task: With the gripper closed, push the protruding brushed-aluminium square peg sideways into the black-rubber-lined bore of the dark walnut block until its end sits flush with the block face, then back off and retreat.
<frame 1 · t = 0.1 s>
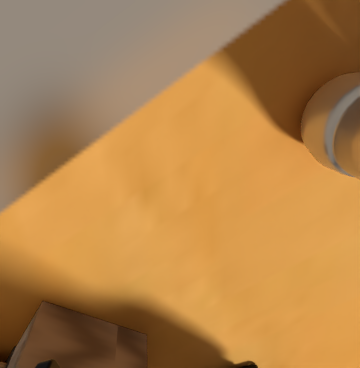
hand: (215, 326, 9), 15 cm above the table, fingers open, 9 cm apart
socket block: (65, 367, 30), on the table
plastic bottle: (332, 114, 22), on the table
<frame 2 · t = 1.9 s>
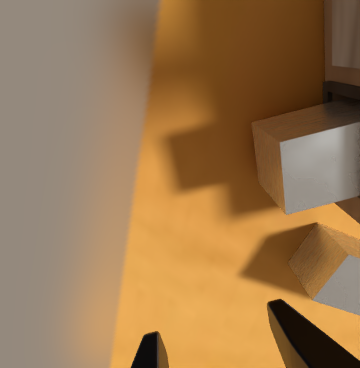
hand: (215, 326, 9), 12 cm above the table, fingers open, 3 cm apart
peg: (329, 150, 17), point 3 cm above the table, slide at 5.0 cm
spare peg: (335, 255, 24), on the table
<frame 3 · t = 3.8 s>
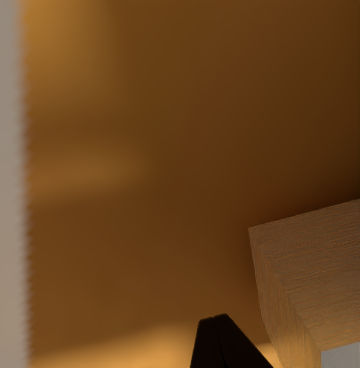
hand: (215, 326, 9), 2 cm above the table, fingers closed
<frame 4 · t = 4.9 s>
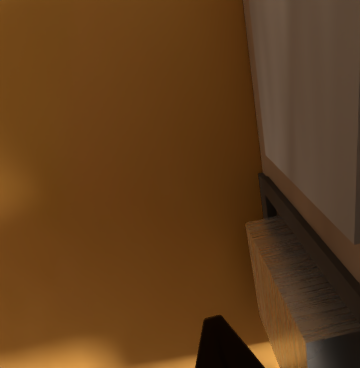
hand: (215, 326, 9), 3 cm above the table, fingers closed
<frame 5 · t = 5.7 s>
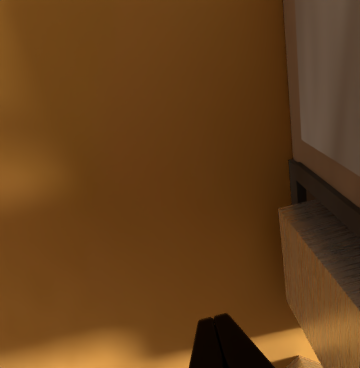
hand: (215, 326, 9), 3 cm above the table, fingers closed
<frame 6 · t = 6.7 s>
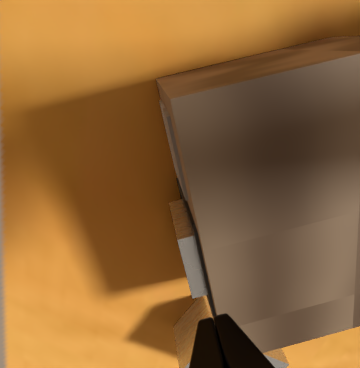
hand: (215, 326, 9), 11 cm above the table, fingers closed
socket block: (257, 172, 20), on the table
peg: (238, 232, 18), point 3 cm above the table, slide at 1.0 cm
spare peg: (221, 322, 25), on the table
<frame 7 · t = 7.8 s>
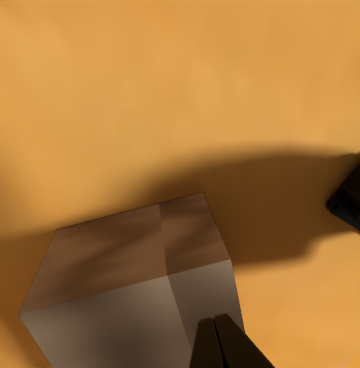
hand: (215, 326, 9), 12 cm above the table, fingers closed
socket block: (156, 287, 23), on the table
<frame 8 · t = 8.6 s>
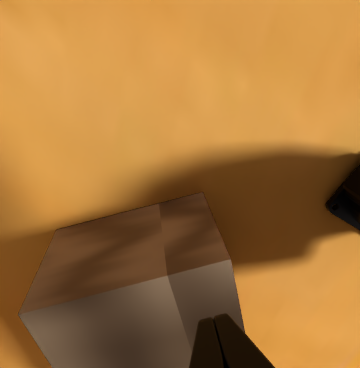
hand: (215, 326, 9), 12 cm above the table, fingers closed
socket block: (156, 287, 23), on the table
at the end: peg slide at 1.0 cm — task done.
